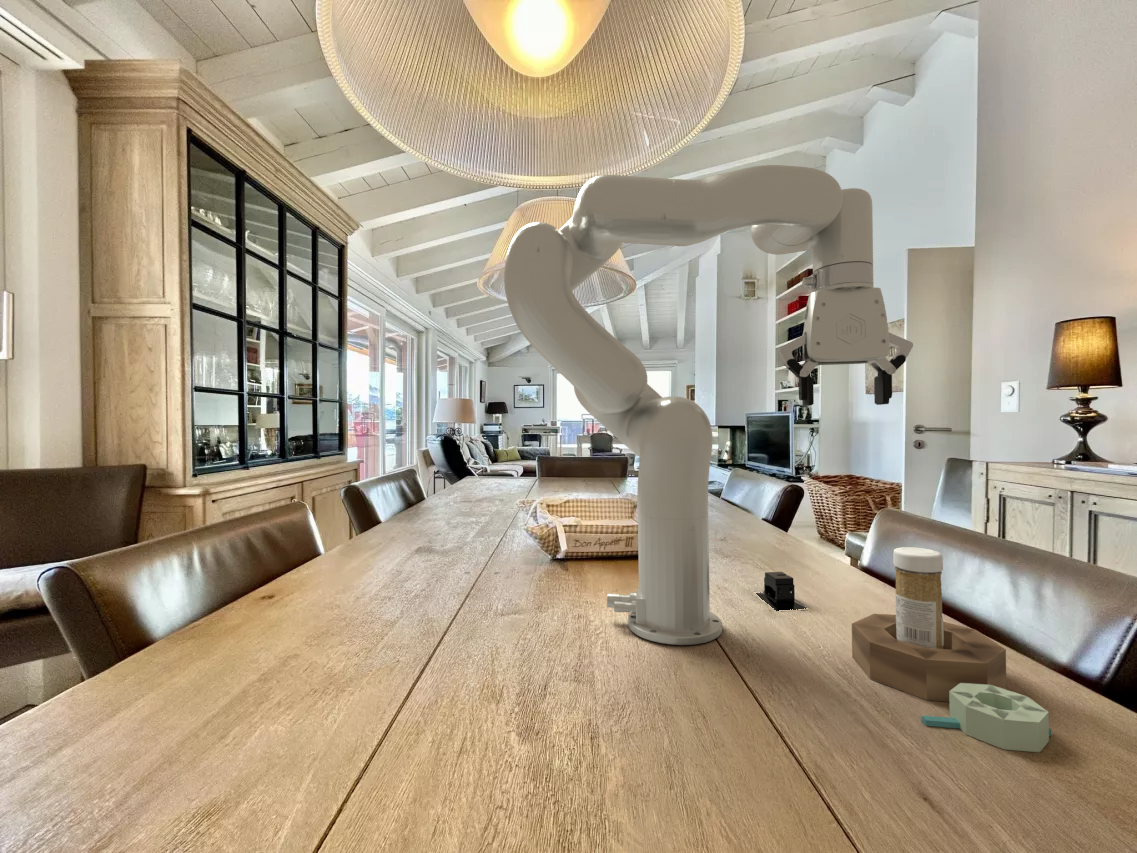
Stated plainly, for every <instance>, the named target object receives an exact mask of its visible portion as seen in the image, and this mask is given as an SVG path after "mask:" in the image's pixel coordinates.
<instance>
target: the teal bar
mask: <svg viewBox="0 0 1137 853" xmlns="http://www.w3.org/2000/svg"><path fill="white" fill-rule="evenodd" d="M920 716H921V722H922V723H923V725H925V726H926V727H935V728H936V727H937V728H938V727H939V728H949V729H960V722H959V721H958V720H957V719H956V718H950V716H949V717H948V716H947V717H944V716H935V715H934V716H931V715H923V714H921V715H920ZM1052 734H1053V731H1052V729H1051V728H1050V727H1049V737H1050V736H1053V735H1052Z"/></svg>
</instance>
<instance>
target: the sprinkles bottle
mask: <svg viewBox="0 0 1137 853" xmlns="http://www.w3.org/2000/svg"><path fill="white" fill-rule="evenodd" d="M892 556H893V561H892V562H893V566H894V570H895V615H896V636H897V640H900V641H903V642H907V643H910V644H913V645H917V646H920V647H923V648H935V649H943V646H944V629H943V621H944V618H943V599H942V595H943V592H942V590H943V589H942V574H943V573H942V571H944V562H943V560H944V558H943V554H942V553H941V552H940V551H937V550H935V549H934V550H933V549H930V548H929V549H928V548H924V547H914V546H913V547H911V546H908V547H907V546H905V547H904V546H902V547H897V548H895V549H893V554H892Z"/></svg>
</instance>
